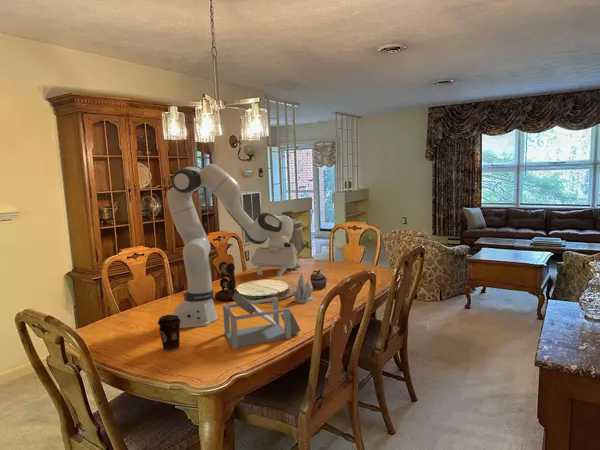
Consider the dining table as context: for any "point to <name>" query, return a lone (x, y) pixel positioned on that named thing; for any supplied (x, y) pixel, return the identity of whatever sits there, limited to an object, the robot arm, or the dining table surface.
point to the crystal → (303, 291)
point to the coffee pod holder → (227, 282)
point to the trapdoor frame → (256, 333)
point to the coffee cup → (170, 332)
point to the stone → (292, 324)
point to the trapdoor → (251, 307)
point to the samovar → (296, 235)
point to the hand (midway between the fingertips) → (269, 275)
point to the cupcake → (318, 280)
